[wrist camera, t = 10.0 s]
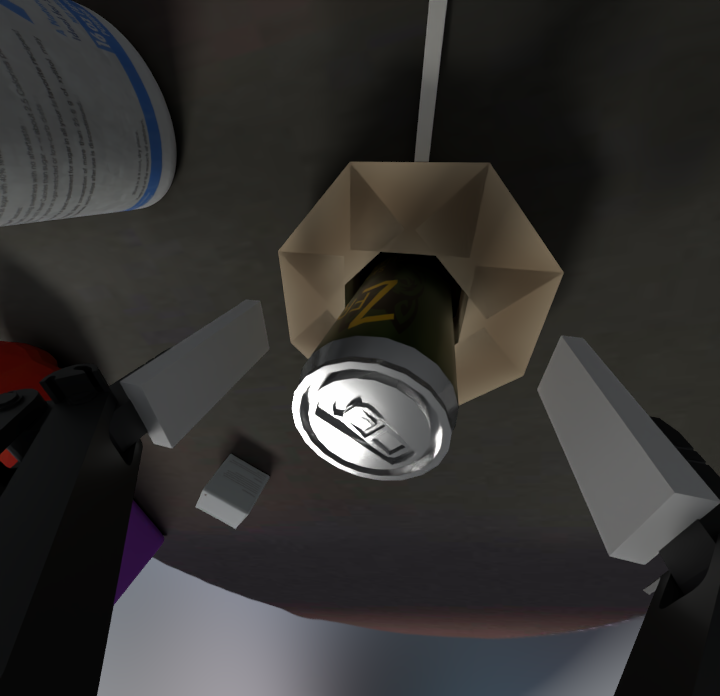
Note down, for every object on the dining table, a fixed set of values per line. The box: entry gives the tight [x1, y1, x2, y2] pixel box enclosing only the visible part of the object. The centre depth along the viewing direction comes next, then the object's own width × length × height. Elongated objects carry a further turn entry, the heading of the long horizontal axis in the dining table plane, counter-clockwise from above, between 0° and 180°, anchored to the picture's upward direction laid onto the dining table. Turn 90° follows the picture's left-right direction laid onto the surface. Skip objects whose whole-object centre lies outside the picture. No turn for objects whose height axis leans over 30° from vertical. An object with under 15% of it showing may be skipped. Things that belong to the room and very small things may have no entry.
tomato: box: [0, 341, 62, 468], centre depth 30 cm, size 14×13×10 cm
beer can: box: [292, 253, 459, 480], centre depth 14 cm, size 5×5×12 cm
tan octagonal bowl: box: [278, 162, 564, 405], centre depth 17 cm, size 14×14×4 cm
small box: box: [196, 454, 270, 529], centre depth 34 cm, size 6×6×5 cm
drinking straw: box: [414, 0, 447, 162], centre depth 12 cm, size 10×3×1 cm, turn 0°
